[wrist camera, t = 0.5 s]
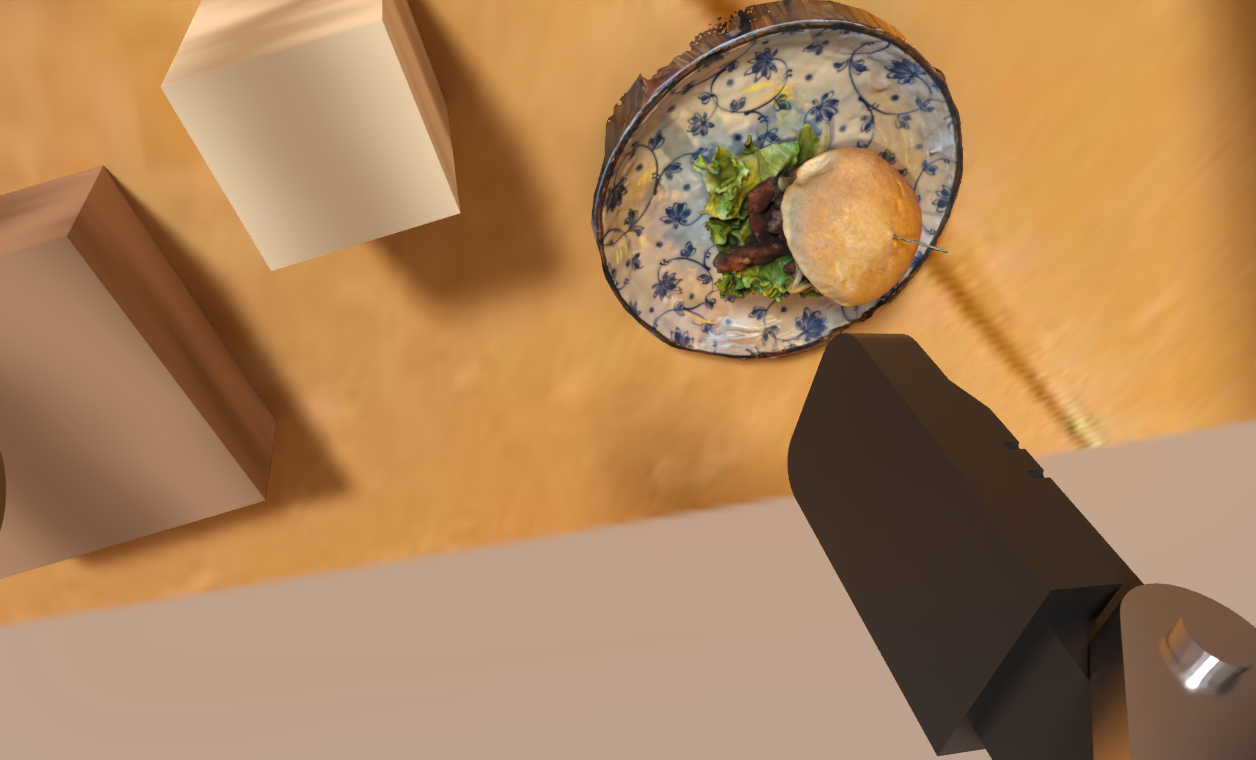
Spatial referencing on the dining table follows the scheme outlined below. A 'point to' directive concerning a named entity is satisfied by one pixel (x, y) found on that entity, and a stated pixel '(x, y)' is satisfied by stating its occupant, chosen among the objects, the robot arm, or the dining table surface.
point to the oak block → (316, 120)
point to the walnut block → (110, 383)
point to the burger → (776, 181)
